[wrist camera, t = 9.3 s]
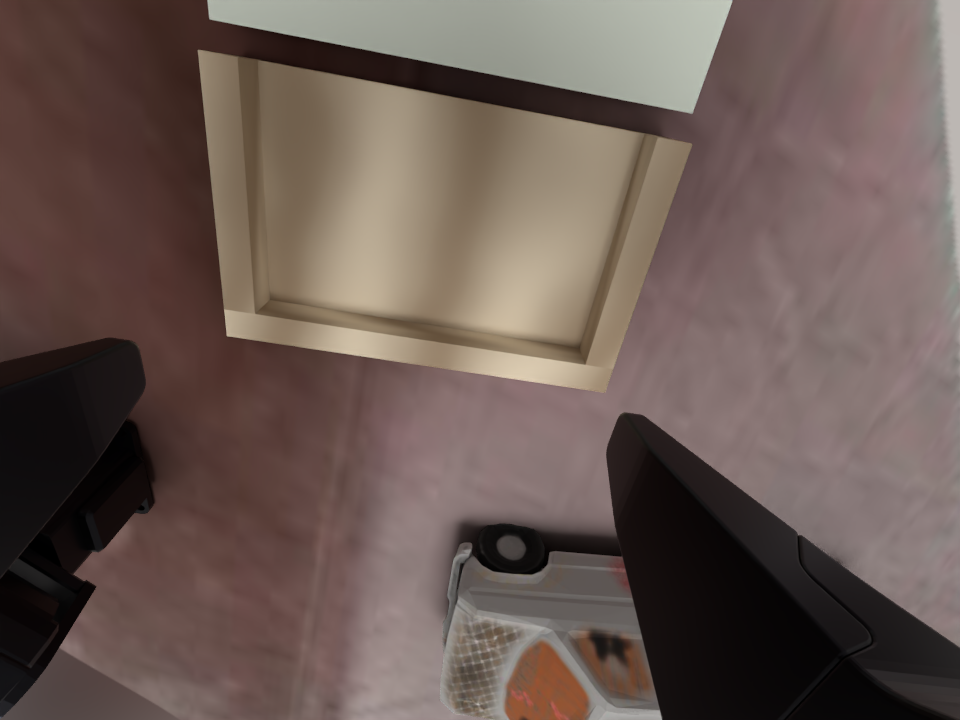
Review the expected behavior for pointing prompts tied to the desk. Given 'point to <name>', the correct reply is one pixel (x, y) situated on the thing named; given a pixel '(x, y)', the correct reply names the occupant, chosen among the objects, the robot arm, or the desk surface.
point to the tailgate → (521, 38)
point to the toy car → (542, 634)
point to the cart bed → (428, 223)
